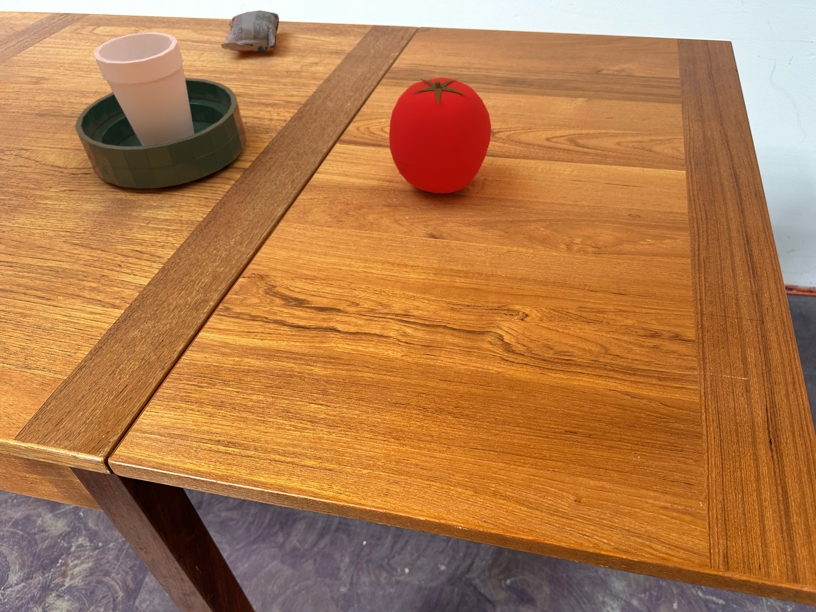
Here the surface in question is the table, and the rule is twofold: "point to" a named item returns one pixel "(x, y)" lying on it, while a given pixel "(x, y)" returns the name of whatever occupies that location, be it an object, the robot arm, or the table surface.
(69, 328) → the table surface
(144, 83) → the foam cup
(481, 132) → the tomato
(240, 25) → the packaged food
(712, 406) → the table surface
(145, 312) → the table surface
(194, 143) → the bowl
